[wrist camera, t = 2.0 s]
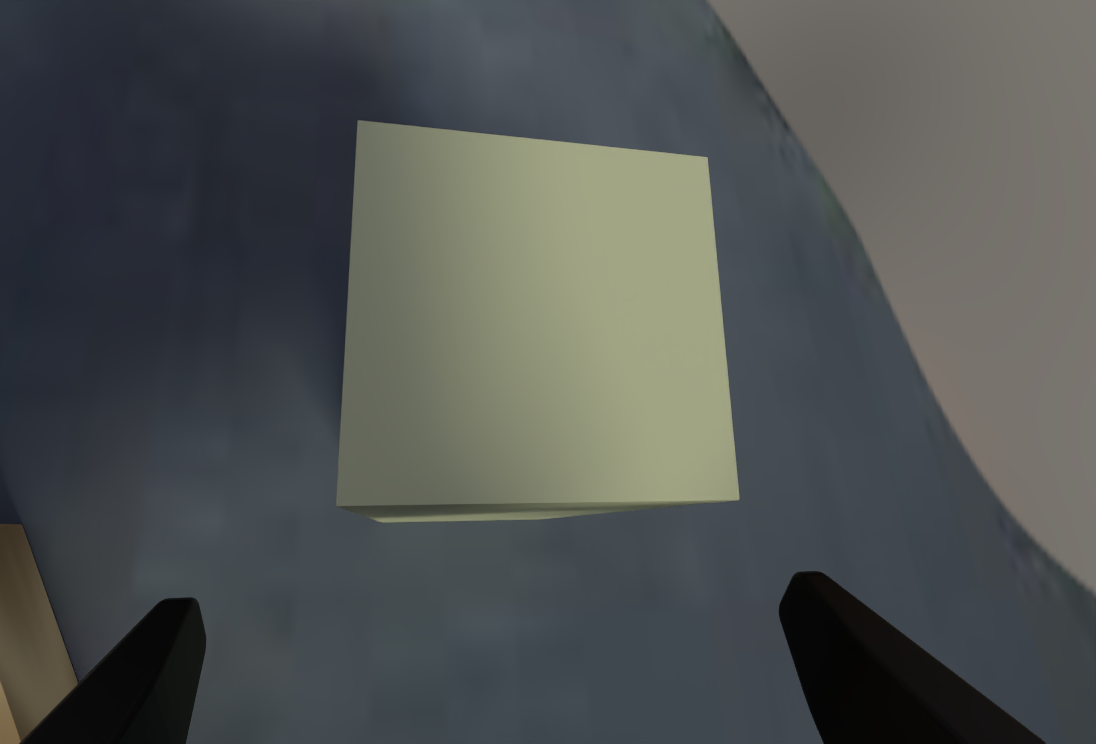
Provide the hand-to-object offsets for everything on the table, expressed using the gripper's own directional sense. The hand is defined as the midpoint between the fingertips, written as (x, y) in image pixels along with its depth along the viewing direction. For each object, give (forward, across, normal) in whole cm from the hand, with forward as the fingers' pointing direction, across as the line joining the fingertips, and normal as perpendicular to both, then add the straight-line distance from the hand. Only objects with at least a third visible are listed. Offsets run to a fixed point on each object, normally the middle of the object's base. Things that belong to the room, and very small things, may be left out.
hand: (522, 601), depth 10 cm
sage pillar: (+10, 0, +5) cm, 11 cm away
